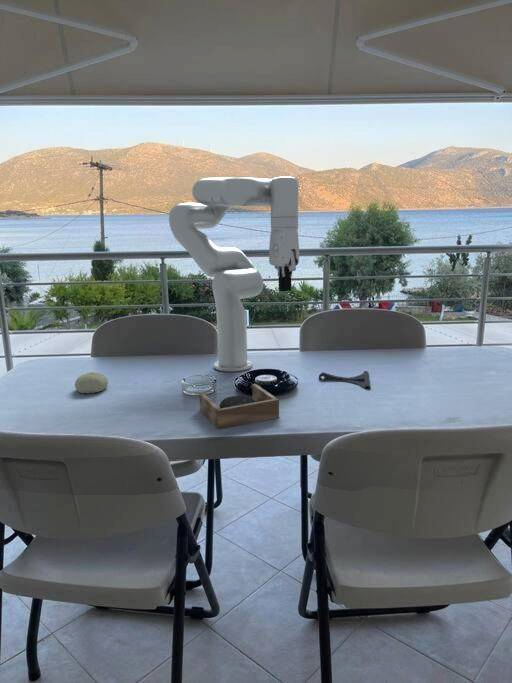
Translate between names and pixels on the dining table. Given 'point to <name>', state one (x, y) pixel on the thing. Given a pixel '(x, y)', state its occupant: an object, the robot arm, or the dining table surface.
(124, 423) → the dining table surface
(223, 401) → the smart speaker
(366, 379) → the bracket
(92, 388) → the sea urchin shell
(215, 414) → the box
